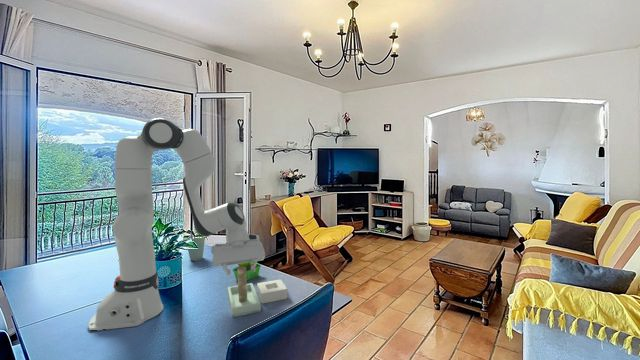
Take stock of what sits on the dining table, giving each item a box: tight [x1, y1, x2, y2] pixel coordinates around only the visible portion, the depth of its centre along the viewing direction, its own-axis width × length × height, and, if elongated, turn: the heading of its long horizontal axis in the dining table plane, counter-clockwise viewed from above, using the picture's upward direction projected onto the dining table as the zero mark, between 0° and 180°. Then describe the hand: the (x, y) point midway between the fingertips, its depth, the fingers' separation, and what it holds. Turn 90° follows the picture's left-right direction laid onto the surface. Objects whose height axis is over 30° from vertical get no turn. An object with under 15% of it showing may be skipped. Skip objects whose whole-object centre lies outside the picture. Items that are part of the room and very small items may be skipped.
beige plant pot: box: [187, 236, 206, 262], centre depth 165 cm, size 11×11×15 cm
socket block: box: [256, 278, 288, 304], centre depth 121 cm, size 10×10×4 cm
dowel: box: [237, 266, 248, 302], centre depth 115 cm, size 3×3×13 cm
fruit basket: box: [232, 262, 262, 281], centre depth 139 cm, size 11×9×11 cm
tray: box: [227, 282, 262, 318], centre depth 116 cm, size 10×19×3 cm, turn 21°
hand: (241, 273), depth 116 cm, fingers open, 8 cm apart
